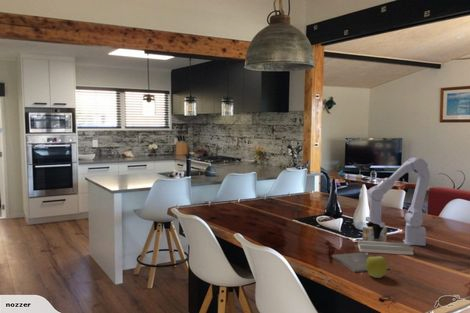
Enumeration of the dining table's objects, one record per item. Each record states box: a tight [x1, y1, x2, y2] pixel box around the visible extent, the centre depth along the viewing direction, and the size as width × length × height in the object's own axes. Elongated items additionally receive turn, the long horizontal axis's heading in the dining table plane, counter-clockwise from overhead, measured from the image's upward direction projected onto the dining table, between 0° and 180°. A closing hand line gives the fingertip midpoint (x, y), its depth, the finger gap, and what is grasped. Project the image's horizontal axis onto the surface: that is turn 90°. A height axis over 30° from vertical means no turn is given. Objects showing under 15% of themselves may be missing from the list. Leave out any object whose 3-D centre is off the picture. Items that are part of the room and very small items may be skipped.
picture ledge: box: [357, 240, 414, 256], centre depth 199 cm, size 24×10×3 cm, turn 79°
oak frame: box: [362, 226, 388, 242], centre depth 212 cm, size 12×3×8 cm, turn 104°
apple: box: [366, 255, 388, 279], centre depth 165 cm, size 8×8×10 cm
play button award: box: [331, 252, 390, 273], centre depth 181 cm, size 16×2×20 cm
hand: (374, 237), depth 212 cm, fingers open, 3 cm apart
